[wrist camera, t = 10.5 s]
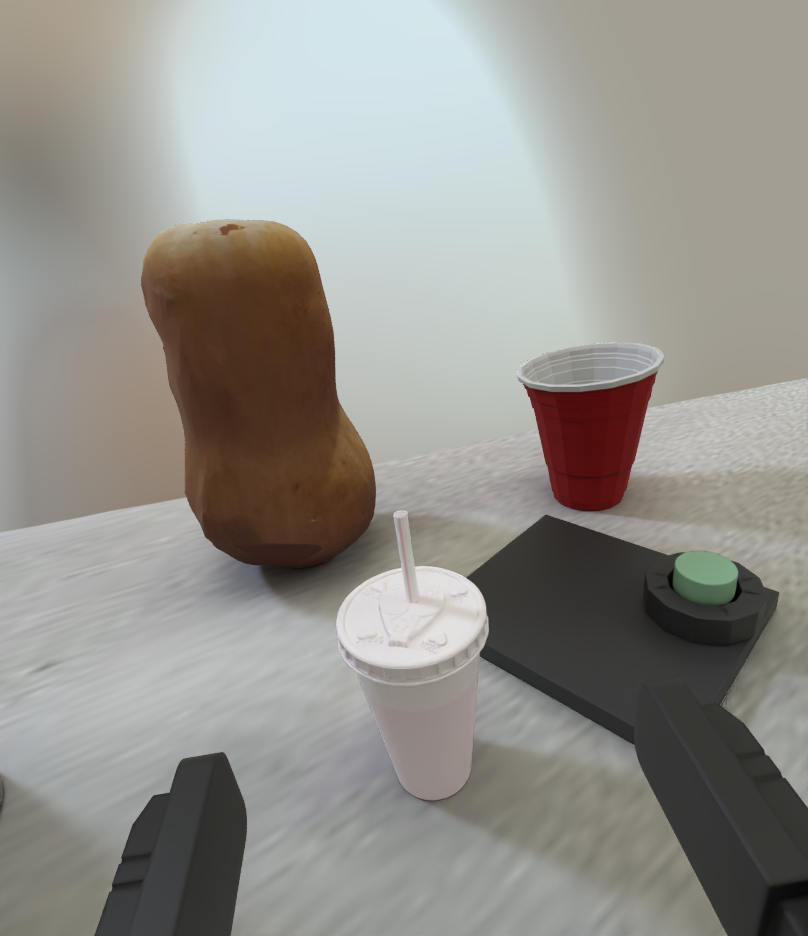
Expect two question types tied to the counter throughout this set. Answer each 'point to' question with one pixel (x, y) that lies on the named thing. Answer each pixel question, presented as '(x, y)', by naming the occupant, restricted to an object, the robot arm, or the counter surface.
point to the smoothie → (418, 666)
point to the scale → (610, 621)
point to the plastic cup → (591, 416)
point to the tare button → (705, 578)
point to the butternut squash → (257, 392)
